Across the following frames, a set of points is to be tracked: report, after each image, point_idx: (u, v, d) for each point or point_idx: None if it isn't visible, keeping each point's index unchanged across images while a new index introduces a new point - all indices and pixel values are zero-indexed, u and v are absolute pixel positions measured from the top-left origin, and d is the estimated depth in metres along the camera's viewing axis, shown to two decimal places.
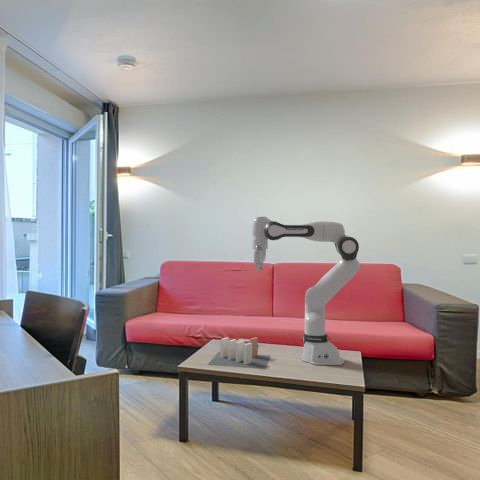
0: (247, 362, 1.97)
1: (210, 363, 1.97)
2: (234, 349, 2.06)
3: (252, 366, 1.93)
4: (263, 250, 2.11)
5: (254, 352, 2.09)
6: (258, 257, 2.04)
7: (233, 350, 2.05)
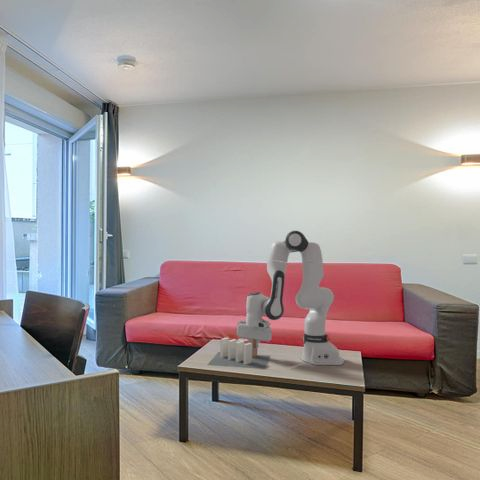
0: (247, 362, 1.97)
1: (210, 363, 1.97)
2: (234, 349, 2.06)
3: (252, 366, 1.93)
4: (248, 327, 2.09)
5: (254, 352, 2.09)
6: None
7: (233, 350, 2.05)
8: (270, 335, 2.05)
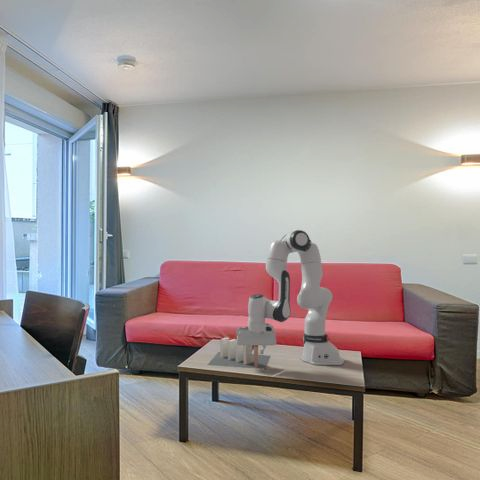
0: (247, 362, 1.97)
1: (210, 363, 1.97)
2: (234, 349, 2.06)
3: (252, 366, 1.93)
4: (253, 332, 1.92)
5: None
6: (237, 339, 1.93)
7: (233, 350, 2.05)
8: None
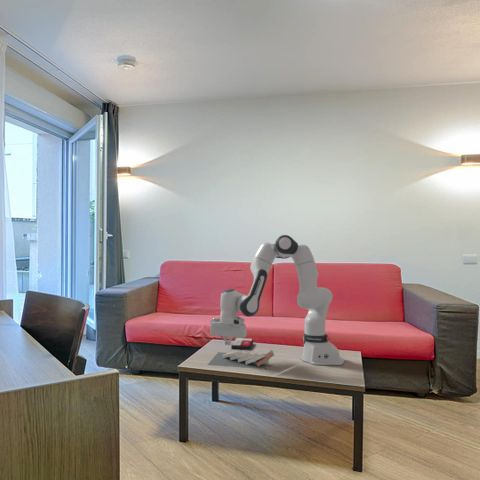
0: (248, 363, 1.96)
1: (210, 363, 1.97)
2: None
3: (252, 366, 1.93)
4: (223, 324, 2.06)
5: None
6: None
7: None
8: (245, 332, 2.04)
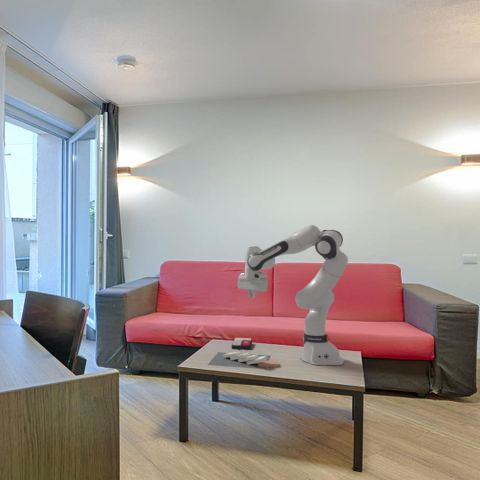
0: (249, 363, 1.96)
1: (210, 363, 1.97)
2: None
3: (252, 366, 1.93)
4: (247, 278, 2.22)
5: None
6: None
7: None
8: (265, 286, 2.16)
